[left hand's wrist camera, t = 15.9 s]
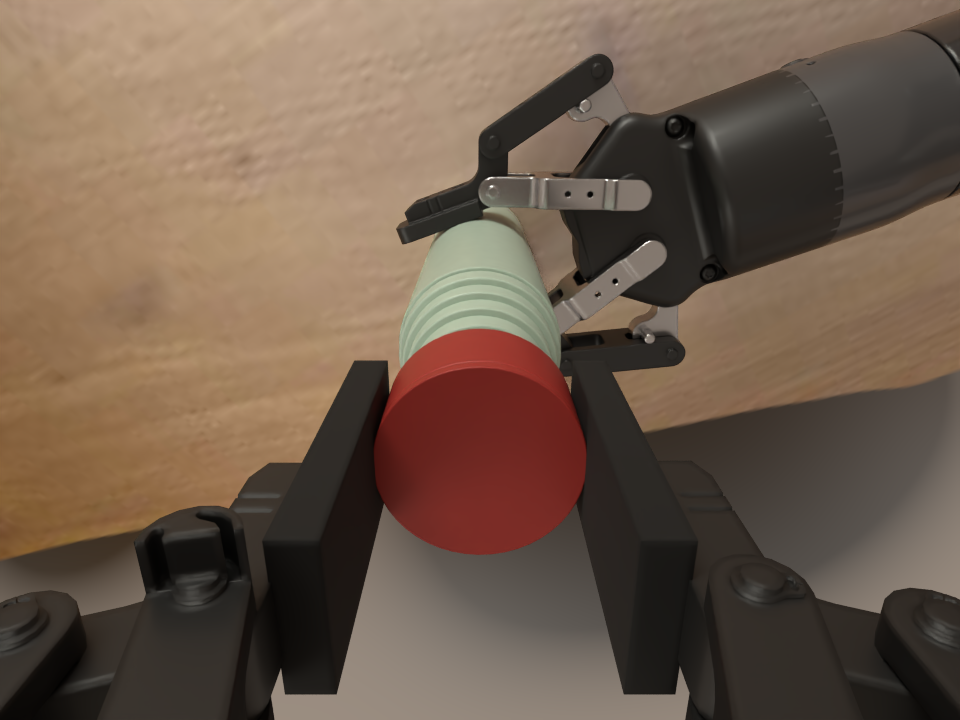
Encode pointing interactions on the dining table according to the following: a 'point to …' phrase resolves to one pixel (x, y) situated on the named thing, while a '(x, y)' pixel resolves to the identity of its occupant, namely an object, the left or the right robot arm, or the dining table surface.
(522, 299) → the bottle
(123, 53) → the dining table surface
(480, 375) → the cap
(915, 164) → the right robot arm
